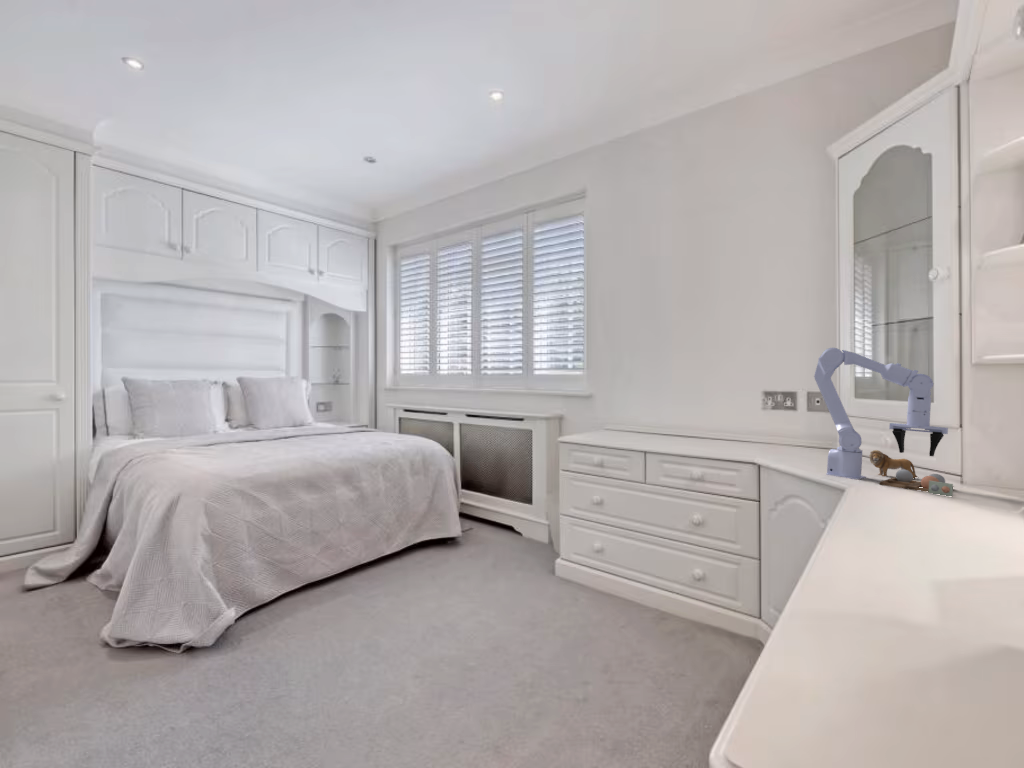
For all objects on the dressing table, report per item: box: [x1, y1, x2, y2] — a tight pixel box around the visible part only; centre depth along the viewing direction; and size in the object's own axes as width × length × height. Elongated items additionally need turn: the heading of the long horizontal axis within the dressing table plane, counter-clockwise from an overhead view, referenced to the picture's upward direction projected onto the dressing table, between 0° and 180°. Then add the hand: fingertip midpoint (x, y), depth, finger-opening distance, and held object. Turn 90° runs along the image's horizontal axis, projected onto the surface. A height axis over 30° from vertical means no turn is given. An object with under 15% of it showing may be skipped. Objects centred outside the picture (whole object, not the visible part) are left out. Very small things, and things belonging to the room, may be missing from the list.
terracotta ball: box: [920, 475, 939, 489], centre depth 153 cm, size 4×4×4 cm
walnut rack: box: [879, 477, 929, 493], centre depth 158 cm, size 15×15×1 cm
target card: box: [928, 481, 954, 497], centre depth 146 cm, size 5×1×4 cm, turn 39°
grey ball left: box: [895, 469, 914, 483], centre depth 164 cm, size 4×4×4 cm
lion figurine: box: [869, 449, 918, 479], centre depth 176 cm, size 15×5×9 cm, turn 74°
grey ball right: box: [928, 473, 946, 483], centre depth 157 cm, size 4×4×4 cm
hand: (916, 454), depth 162 cm, fingers open, 7 cm apart
